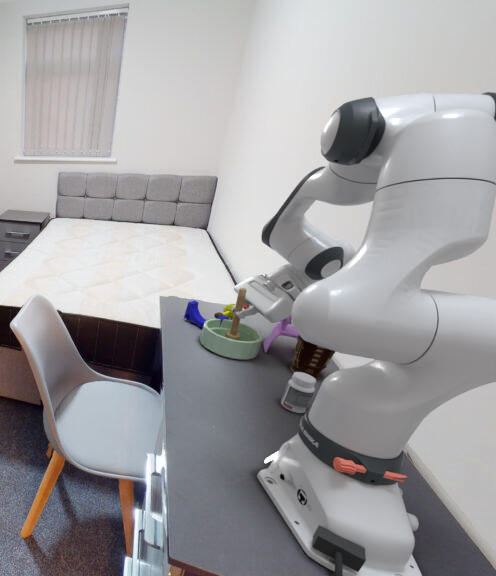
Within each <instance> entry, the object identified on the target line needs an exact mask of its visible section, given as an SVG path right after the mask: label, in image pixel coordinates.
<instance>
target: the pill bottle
mask: <svg viewBox="0 0 496 576" xmlns="http://www.w3.org/2000/svg"><path fill="white" fill-rule="evenodd" d="M316 383H317V379H315V378H314V377H312V376H311V375H308V374H306V373H302V372H295V373H294V372H293V374H292V376H291V378H290V379H289V380H288V382H287V384H286V387H285V390H284V392H283V394H282V397H281V400H280V404H281V406H282V407H283V408H285V409H286V410H288V411H291V412H293V413H297V414H305V413H306V411H308V407H309V406H310V403H311V401H312V398H313V396H314V394H315V391H316V387H315V385H316Z"/></svg>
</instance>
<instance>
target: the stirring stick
mask: <svg viewBox="0 0 496 576" xmlns="http://www.w3.org/2000/svg"><path fill="white" fill-rule="evenodd" d="M246 291H247V289H245V288H239V292H238V294H237V296H236V301H235V304H236V306H235V310H234V315H233V319H232V324H231V329H230V331H227V332H226V335H225V337H226V338H229V339H233V340H238V341H239V340H240V334H239V333H237V332H238V327H239V323H241V319H240V318H239V317H238V316H237V315H236V314H235V313H236V312H237V311H239V310H240V309H241V310H242V309H243V305H244V300H245V296H246Z"/></svg>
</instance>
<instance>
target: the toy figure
mask: <svg viewBox="0 0 496 576" xmlns="http://www.w3.org/2000/svg"><path fill="white" fill-rule="evenodd" d="M235 304H236V303H229V304H226V305H225V306H224V307H223V310H222V312H221V311H217V312H215V313H214V314H213V316H214V319H217V317H219V316H223V315H225V316H227V317H228V320H233V315H234V313H233V312H232V310H231V309H230V308H231V307H233V306H234V305H235ZM249 306H250V305H247V306H244V307H243V309H242V310H245V309H248V308H249Z"/></svg>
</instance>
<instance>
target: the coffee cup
mask: <svg viewBox="0 0 496 576" xmlns="http://www.w3.org/2000/svg"><path fill="white" fill-rule="evenodd" d="M297 333H298V332H297ZM336 353H337V352H336V351H333V350H330V349H327V348H323V347H321V346H318V345H315V344H312V343H310V342H307V341H305V340H303V339H302V338H301V336H300V335H299V334H298V339H297V341H296V343H295V347H294V353H293V356H292V360H291V361H292V363H291V365H290V367H289V368H290V370H291V372H292V373H293V374H294V373H295V372H302V373H306V374H308V375H311V376H312V377H314V378H315V379H316V380H317V379H320V378H321V377H322V373H321V372H322V371H323V370H325V369H326V368H327V366H328V365H329V363H330V361H331V360H332V358H333V357H334V355H335V354H336Z"/></svg>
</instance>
